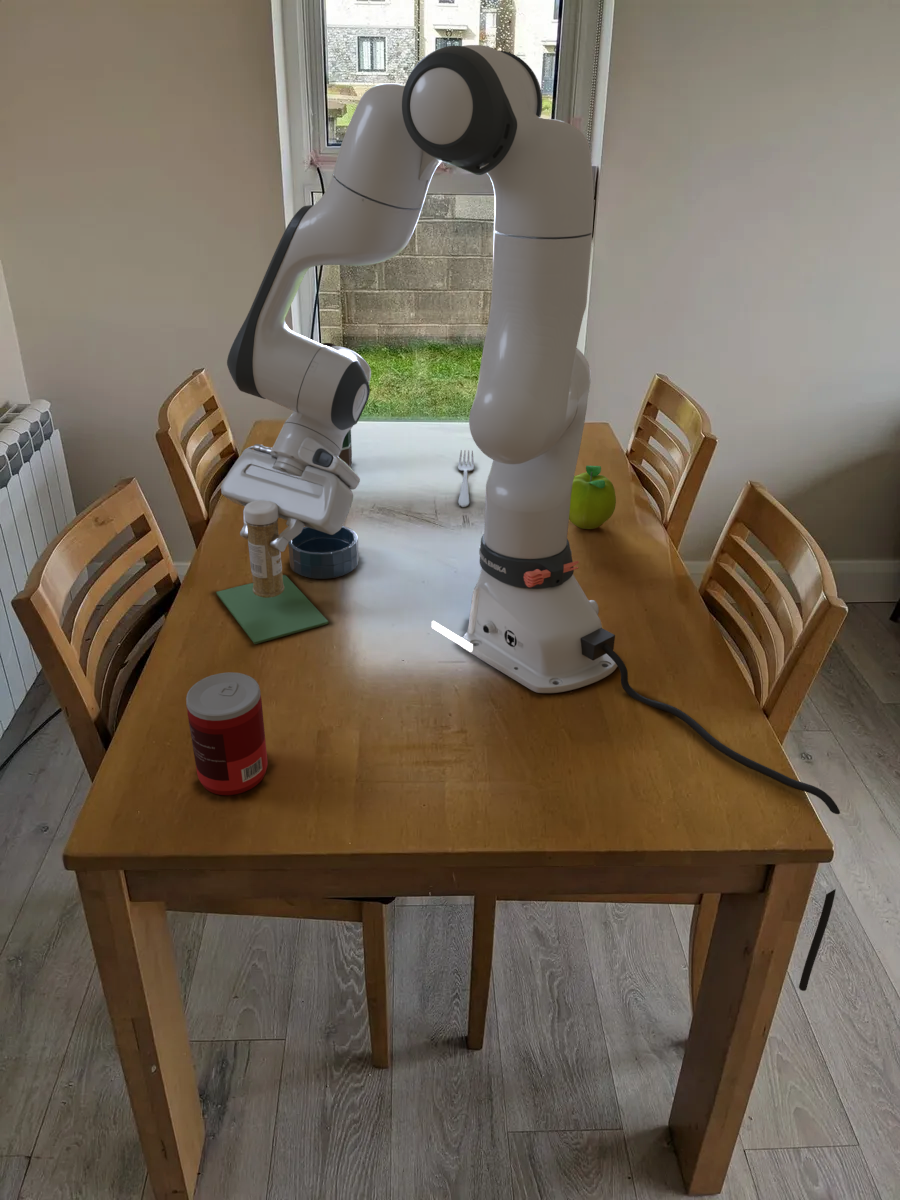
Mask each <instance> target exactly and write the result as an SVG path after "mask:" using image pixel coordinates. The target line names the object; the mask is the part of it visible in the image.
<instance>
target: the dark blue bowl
mask: <svg viewBox="0 0 900 1200" xmlns="http://www.w3.org/2000/svg"><path fill="white" fill-rule="evenodd" d="M287 547H288V559H289V567H290V569H291V570H292V571H293V572H294V573H295V574H297V575H299V576H302V577H305V578H308V579H315V580H328V579H329V580H330V579H336V578H340V577H342V576H345V575H347V574H350V573H351V572H353V571H354V570H355V569H356V568H357V567H358V566H359V562H360V558H359V555H360V553H359V537H358V534H357V532H356V531H355V530H353V529H352V528H350V527H347V526H344V525H343V526H342V528H341V529H340V530H339V531H338V532H336V533H335V534H333V535H330V534H327V533H324V532H321V531H318V530H315V529H312V528H309V527H306V526H304V527H303V529H302V531H301V533H300V534H299V535H297V536H296V537H295V538H294V539H292V540H291V541H289V542H288V544H287Z"/></svg>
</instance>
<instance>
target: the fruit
mask: <svg viewBox="0 0 900 1200" xmlns="http://www.w3.org/2000/svg"><path fill="white" fill-rule="evenodd" d="M585 471H586V472H582V473H579V474H577V475H574V479H573V485H572V492H571V501H570V512H569V522H570V523H572V524H573V525H574V526H576V527H577V528H579V529H582V530H583V529H584V530H595V529H597V528H599V527H600V526H602V525H603V524H605V523H606V522H607V521H608V520H609V519H610V518H611V517H612V516H613V514H614V512H615V510H616V506H617V497H616V490H615V487H614V484H613V482H612V481H611V480H610V479H609V478H608V477H606V476H605V475H602V474H601V472H602V466H601V465H586V466H585Z"/></svg>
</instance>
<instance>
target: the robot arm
mask: <svg viewBox="0 0 900 1200" xmlns="http://www.w3.org/2000/svg"><path fill="white" fill-rule="evenodd" d="M542 111H543V93H542V88H541V84H540V82H539V79H538V78H537V75H536V74H535V72H534V71H533V69H532V68H531V67H530V65H528V64H527V63H526V61H524V60H523V59H522V58H520V57H519V56H517V54H514V53H512V52H509V51H505V50H504V51H503V50H497V49H495V48H493V47H491V46H487V45H484V44H483V45H482V44H466V45H447V46H443V47H439V48H438V49H436V50H433V51H432V52H430V53H429V54H427V55H425V56H424V57H423V58H421V60H420V61H419V62H418V63H416V65H415V66H414V67H413V69H412V70H411V72H410V73H409V75H408V77H407V80H406V82H405V84H404V85H403V84H400V83H379V84H376V85H373V86H372V87H370V88H369V89H367V90H366V91H365V92H364V93H363V94H362V95H361V97H360V99H359V101H358V103H357V106H356V107H355V110H354V112H353V114H352V115H351V117H350V121H349V124H348V126H347V128H346V131H345V133H344V136H343V138H342V142H341V145H340V147H339V150H338V154H337V156H336V160H335V163H334V167H333V172H332V175H331V179H330V181H329V183H328V186H327V188H326V189H325V191H324V193H323V195H322V196H321V197H320V198H319V200H317V202H316V203H314V204H308V205H304V206H301V207H300V209H299V210H297V212H296V213H295V214H294V215H293V216H292V218H291V219H290V221H289V223H288V225H287V226H286V228H285V230H284V231H283V234H282V236H281V238H280V240H279V242H278V245H277V246H276V249H275V250H274V253H273V255H272V257H271V259H270V262H269V265H268V266H267V269H266V271H265V273H264V276H263V278H262V281H261V283H260V285H259V288H258V290H257V293H256V295H255V297H254V299H253V301H252V304H251V307H250V309H249V311H248V313H247V315H246V317H245V319H244V321H243V323H242V324H241V327H240V328H239V330H238V332H237V334H236V336H235V337H234V339H233V341H232V343H231V345H230V348H229V351H228V356H227V359H226V366H227V369H228V372H229V374H230V376H231V379H232V381H233V382H234V384H235V385H236V387H237V389H238V390H239V391H240V392H242V393H245V394H248V395H251V396H254V397H257V398H260V399H263V400H268V401H270V402H272V403H274V404H277V405H279V406H281V407H283V408H286V409H288V410H291V411H292V413H291V415H290V416H288V417H287V419H286V420H285V421H284V423H283V425H282V427H281V430H280V431H279V433H278V436H277V437H276V440H275V442H274V443H273V446H272V447H270V446H264V445H263V444H260V443H255V444H253V445H251V446H249V447H246V448H245V449H243V451H242V453H241V455H240V456H238V458H237V459H236V460H235V462H234V464H233V465H232V467H231V468H230V469H229V471H228V472H227V474H226V475H225V477H224V479H223V481H222V482H221V486H220V491H221V495H222V496H223V497H225V498H226V499H227V500H229V501H230V502H231V503H233V504H236V505H239V506H242V507H245V506H246V505H247V504H248V503H250V502H254V501H259V500H267V501H272V502H274V503H275V504H276V505H277V507H278V516H279V517H278V519H281V520H285V521H286V523H285V525H286V526H287V527H286V528H285V529H284V530H282V531H281V532H280V533H278V534H279V535H276V534H274V536H273V538H272V541H271V542H270V546H271V547H272V548H274V549H276V550H278V551H280V552H282V553H283V552H285V550H286V548H287V547H288V542H289V541H291V540H292V539H294V538H295V537H296V536H297V535H299V534H300V533H301V531H302V529H303V527H305V526H306V527H309V528H312V529H315V530H318V531H321V532H324V533H327V534H330V535H333V534H335V533H336V532H338V531H339V530H340V529H341V528H342V526H344V524H345V522H346V520H347V517H348V516H349V512H350V510H351V507H352V504H353V502H354V493H353V491H354V490H356V489H357V487H358V486H359V484H360V482H361V478H360V476H359V475H358V473H356V472H355V471H354V470H353V469H352V468H351V466H350V467H349V466H348V465H347V464H346V463H345V462H344V461H343V460H342V459H341V458H339V457H338V456H339V454H340V452H341V450H342V444H343V440H344V438H345V436H346V434H347V433H348V431H349V430H350V429H351V430H352V429H353V427H354V426H355V425H357V424H358V422H359V420H360V418H361V416H362V414H363V411H364V409H365V407H366V405H367V403H368V400H369V398H370V394H371V393H370V392H371V387H370V382H371V380H372V379H371V378H372V368H371V367H370V365H369V364H368V362H367V360H365V359H364V357H363V356H361V355H360V354H359V353H357V352H356V351H354V350H353V349H350V348H348V347H344V346H338V345H336V346H334V347H328V346H326V345H323V344H321V343H320V342H318V341H315V340H313V339H311V338H309V337H307V336H304V335H302V334H300V333H297V332H295V331H294V330H292V329H290V328H289V326H288V324H287V323H286V317H287V315H288V313H289V310H290V309H291V306H292V305H293V302H294V299H295V297H296V295H297V293H298V290H299V288H300V286H301V284H302V282H303V280H304V277H305V275H306V274H307V272H308V271H309V269H311V268H314V267H318V266H349V267H350V266H351V267H353V266H354V267H359V266H361V267H362V266H370V265H375V264H379V263H384V262H386V261H388V260H390V259H392V258H394V257H396V256H397V255H399V254H400V253H401V252H402V251H403V250H404V249H405V248H406V247H407V246H408V244H409V242H410V240H411V238H412V236H413V234H414V231H415V229H416V226H417V224H418V222H419V219H420V216H421V212H422V210H423V207H424V204H425V200H426V196H427V193H428V189H429V187H430V184H431V181H432V178H433V175H434V173H435V172H436V170H437V168H438V167H439V166H440V164H441V163H445V164H448V165H451V166H454V167H456V168H459V169H462V170H463V171H466V172H468V173H470V174H473V175H476V176H482V175H486V174H487V176H488V177H489V178H490V181H491V183H492V187H493V194H494V217H493V218H494V219H493V243H492V244H493V248H492V277H491V278H492V280H491V297H490V299H491V301H490V308H489V309H490V310H489V315H488V320H487V321H488V322H487V327H486V332H485V336H484V337H485V338H484V343H483V348H482V354H481V360H480V367H479V374H478V380H477V385H476V391H475V394H474V399H473V402H472V405H471V407H470V412H469V416H468V425H469V431H470V435H471V437H472V440H473V442H474V444H475V445H476V447H477V448H478V449H479V450H480V451H481V453H483V454H484V455H485V456H486V457H488V458H489V459H491V460H492V462H491V466H490V470H489V474H488V476H487V479H486V484H485V497H484V498H485V501H484V502H485V504H484V523H483V525H484V526H483V534H482V536H481V537H480V545H479V547H478V549H479V550H478V554H479V565H480V567H481V570H480V573H479V575H478V579H477V581H476V583H475V585H474V588H473V591H472V595H471V596H472V598H471V604H470V610H469V618H468V627H467V631H466V632H465V633H464V635H463V636H460V635H458V634H456V633H455V632H453V631H451V630H450V629H449V628H446V627H445V626H443V625H441V624H440V623H439V622H436V621H435V620H432V621H431V628H432V629H433V630H435V631H436V632H438V633H440V634H441V635H443V636H444V637H446V638H447V639H449V640H451V641H452V642H454V643H455V644H457V645H459V646H460V647H461V648H462V649H463V650H464V651H466V652H468V653H469V654H471V655H473V656H474V657H476V658H478V659H479V660H481V661H482V662H484V663H486V664H487V665H489V666H491V667H493V669H495V670H497V671H499V672H501V673H502V674H504V675H506V676H507V677H509V678H511V679H512V680H514V681H515V682H517V683H519V684H520V685H522V686H524V687H526V688H527V689H529V690H530V691H532V692H534V693H537V694H557V693H564V692H569V691H572V690H573V691H574V690H578V689H580V688H583V687H586V686H589V685H592V684H594V683H597V682H599V681H601V680H603V679H605V678H606V677H608V676H610V675H611V674H612V673H613V672H615V670H616V669H617V668H618V669H619V672H620V684H621V687H622V689H623V690H624V691H625V693H626V694H627V695H628V696H630V697H631V698H632V699H634V700H636V701H639V702H641V703H643V704H645V705H648V706H650V707H653V708H654V709H657V710H660V711H664V712H666V713H669V714H672V715H673V716H675V717H677V718H678V719H680V720H681V721H683V723H685V724H687V725H688V726H689V727H690V728H691V729H692V730H694V731H695V732H696V733H697V734H698V736H699V737H701V738H702V739H703V740H704V741H705V742H706V743H707V744H709V745H710V746H712V747H713V748H714V749H716V750H717V751H718V752H720V753H722V754H723V755H724V756H726V757H728V758H730V759H732V760H734V761H735V762H737V763H739V764H741V765H743V766H745V767H747V768H750V769H752V770H754V771H755V772H758V773H760V774H763V775H764V776H767V777H768V778H771V779H773V780H775V781H777V782H779V783H781V784H783V785H785V786H788V787H790V788H793V789H795V790H798V791H801V792H805V793H807V794H810V795H813V796H815V797H817V798H818V799H819V800H821V801H822V802H823V803H824V804H825V805H826V807H827V808H828V809H829V811H830V812H831V813H832V814H835V815H840V814H841V811H840V808H839V807H838V805H837V804H836V802H835V801H834V799H833V798H832V797H831V796H830V795H829V794H828V793H827V792H825V791H824V790H822V789H821V788H819V787H817V786H815V785H812V784H809V783H805V782H803V781H799V780H796V779H793V778H791V777H789V776H787V775H785V774H783V773H780V772H778V771H777V770H774V769H772V768H770V767H768V766H766V765H763V764H761V763H759V762H757V761H755V760H752V759H750V758H749V757H746V756H744V755H742V754H740V753H738V752H737V751H735V750H733V749H732V748H729V747H728V746H727V745H726V744H724V743H722V742H720V741H719V740H717V739H716V738H715V737H714V736H712V734H710V733H709V732H708V731H707V730H706V729H705V728H703V727H702V725H701V724H700V723H699V722H697V721H696V720H695V719H693V718H692V717H691V716H690V715H688V714H687V713H686V712H684V711H682V709H681V710H680V709H679V708H677V707H675V706H673V705H671V704H668V703H664V702H661V701H658V700H653V699H651V698H647V697H645V696H643V695H641V694H640V693H638V692H636V690H634V688H633V687H632V686H631V685H630V683H629V674H628V669H627V666H626V664H625V662H624V661H623V659H622V658H621V656H619V655H618V653H616V651H615V650H614V648H615V640H616V635H615V634H614V633H613V632H610V631H608V630H606V629H604V628H603V625H602V620H601V618H600V616H599V611H600V609H599V605H598V603H597V601H596V600H594V599H590V600H589V598H588V597H587V595H586V593H585V592H584V590H583V588H582V587H581V585H580V583H579V582H578V580H577V578H576V576H575V574H574V571H575V570H577V569H579V567H578V566H577V565H578V564H579V563H580V561H578V560H575V561H573V556H572V555H573V554H572V549H571V545H570V541H569V539H568V535H569V534H568V533H569V532H568V531H569V522H570V520H569V512H570V501H571V492H572V485H573V479H574V476H575V474H576V470H577V465H578V460H579V454H580V449H581V444H582V439H583V438H582V437H583V433H584V427H585V422H586V415H587V410H588V409H587V408H588V403H589V397H590V391H591V387H592V386H591V385H592V371H591V367H590V364H589V361H588V359H587V357H586V356H585V354H584V353H583V352H582V351H581V350H580V349H579V348H578V342H579V336H580V332H581V329H582V323H583V318H584V315H585V312H586V309H587V305H588V304H587V303H588V290H589V279H590V269H591V268H590V265H591V252H592V238H593V227H594V226H593V225H594V176H593V163H592V155H591V148H590V144H589V141H588V139H587V137H586V135H585V133H583V131H581V130H580V129H579V128H577V127H576V126H574V125H573V124H571V123H569V122H566V121H563V120H560V119H555V118H554V119H553V118H543V117H541V116H542V113H543V112H542ZM242 513H243V526H242V528H241V529H240V532H239V536H240V537H241V538H242V539H245V540H247V541H248V531H247V524H246V520H245V515H244V509H243V512H242ZM836 891H837V889H836V888H835V889H833V890H831V891H830V892H827V893H826V894H825V896H824V897H825V898H824V901H823V906H822V910H821V914H820V917H819V920H818V924H817V927H816V929H815V933H814V935H813V939H812V940H811V945H810V947H809V950H808V954H807V957H806V959H805V962H804V966H803V969H802V973H801V975H800V981H799V985H798V989H799V990H800V991H802V992H805V991H807V989H808V985H809V981H810V977H811V974H812V971H813V967H814V964H815V962H816V958H817V955H818V953H819V949H820V946H821V943H822V941H823V938H824V935H825V932H826V929H827V926H828V923H829V919H830V916H831V912H832V909H833V908H832V907H833V906H834V900H835V896H836Z"/></svg>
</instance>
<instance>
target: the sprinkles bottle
mask: <svg viewBox="0 0 900 1200" xmlns="http://www.w3.org/2000/svg"><path fill="white" fill-rule="evenodd" d="M243 507H244V508H243V510H244V514H243V516H244V515H245V520H246V524H247V531H248V540H247V545H248V555H249V563H250V572H251V577H252V578H251V579H252V583H253V592H254V594H255V595H257V596H260V597H264V598H269V597H275V596H277V595H280V594H281V593H282V592H283V591H284V584H283V576H282V575H283V563H282V553H281V551H278V550H276V549H274V548H272V547H271V546H270V542H271V541H272V538H273V536H274V534H276V535H279V534H280V533H279V524H278V521H279V516H278V507H277V505H276V504H275V503H274V502H272V501H267V500H259V501H254V502H250V503H248V504H247V505H246V506H243Z"/></svg>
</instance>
